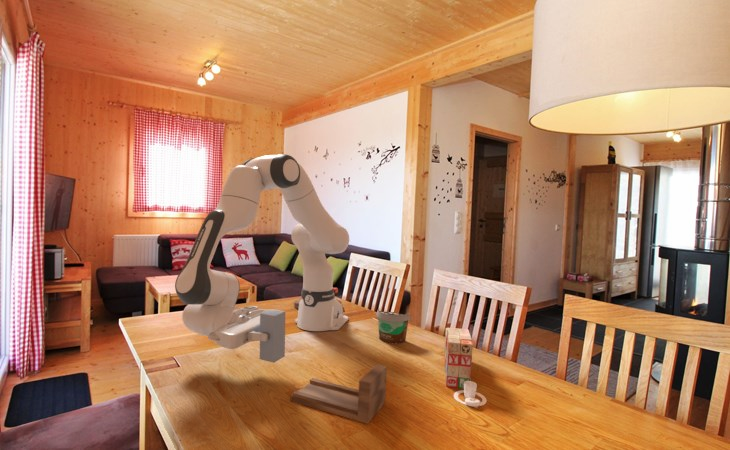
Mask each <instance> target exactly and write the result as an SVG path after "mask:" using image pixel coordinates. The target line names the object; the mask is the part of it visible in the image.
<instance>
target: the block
mask: <svg viewBox="0 0 730 450" xmlns="http://www.w3.org/2000/svg"><path fill="white" fill-rule="evenodd" d="M266 310H267V311H265V312H262V313H260V333H263V332H267V333H270V339H269V340H267V341H261V340H260V341H259V360H261V361H265V362H270V363H277V362H278V361H280V360H281V359H283V358H285V356H286V352H285V351H286V311H285V310H279V309H275V308H274V309H273V308H270V309H266Z"/></svg>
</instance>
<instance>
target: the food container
mask: <svg viewBox="0 0 730 450" xmlns="http://www.w3.org/2000/svg"><path fill="white" fill-rule="evenodd" d="M375 315H376V316H375V317H377V319H378V321H377V322H378V323H377V324H378V325H377V326H378V339H379V341H382V342H383V343H387V344H392V343H393V344H395V343H397V344H402V343H405V342H406V339H407V331H408V326H409V321H410V320H411V319H412V318H411V315H410V312H408V313H405V314H402V313H398V312H395V311H381V310H380V308H378V309H377V311H376V314H375ZM393 344H392V345H393Z"/></svg>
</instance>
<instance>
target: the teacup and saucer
mask: <svg viewBox="0 0 730 450" xmlns="http://www.w3.org/2000/svg"><path fill="white" fill-rule="evenodd" d="M477 388H478V383H476V382H475V381H471V380H470V381H465V382H464V389H462V390H458V391H455V392H454V393H453V398H454V400H455V401H457V402H458V403H460V404H462V405H464V406H469V407H474V408H475V407H481V406H485V404H487V398H486V396H484V395H483V394H481V393H480V392H477ZM460 394H463V395H464V398H465V399H464V401H462V400H461V399H460V398H459V395H460ZM476 395H477V396H478V397H480V399H481V400H482V401H481V400H480V399H478V398H476Z"/></svg>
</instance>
